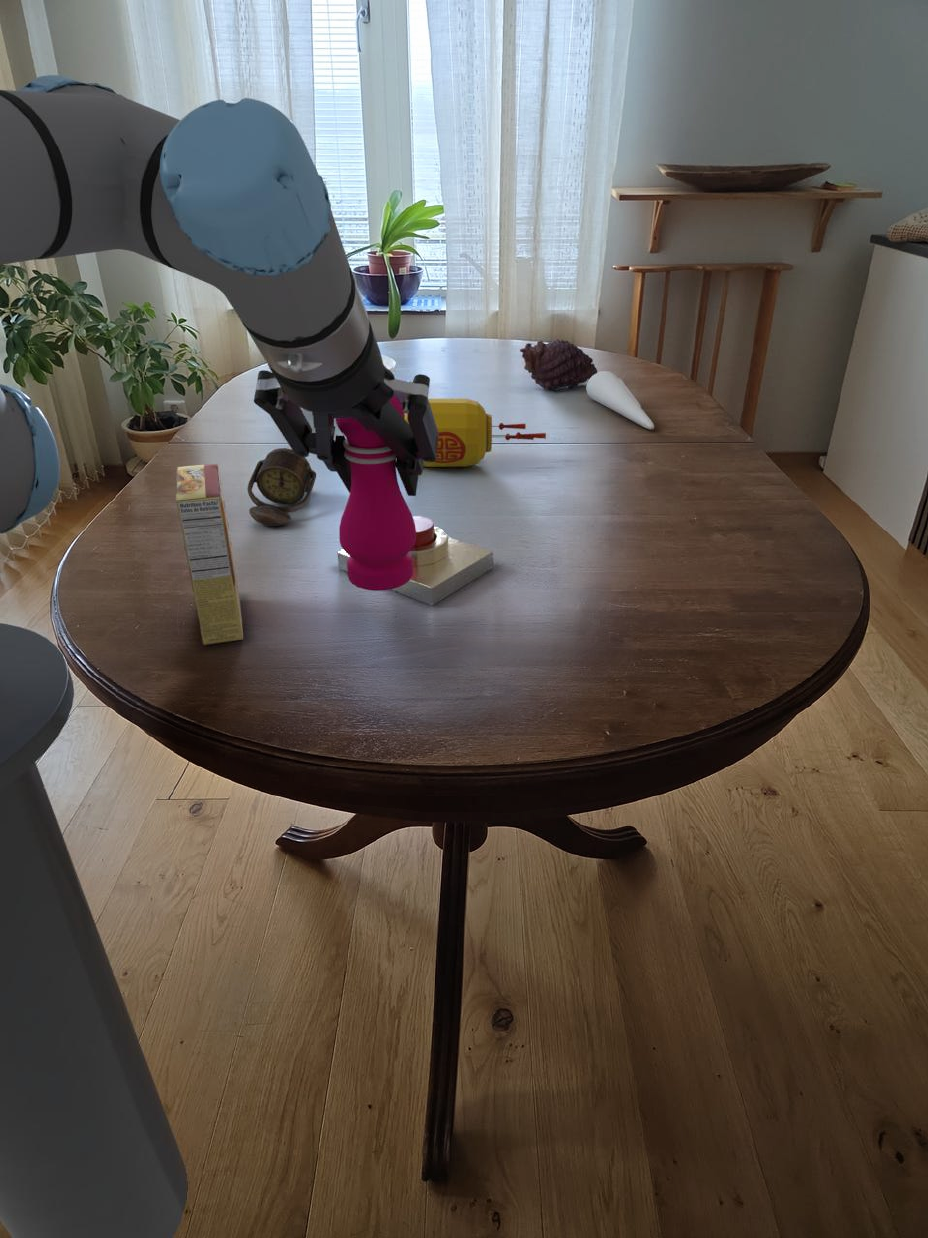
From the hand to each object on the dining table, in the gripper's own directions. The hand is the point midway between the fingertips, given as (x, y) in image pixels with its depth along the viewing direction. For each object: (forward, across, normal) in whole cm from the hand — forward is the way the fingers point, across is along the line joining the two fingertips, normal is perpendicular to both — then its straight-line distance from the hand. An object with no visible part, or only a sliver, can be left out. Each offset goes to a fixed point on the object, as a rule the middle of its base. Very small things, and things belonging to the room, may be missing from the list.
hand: (384, 481), depth 75 cm
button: (+14, +1, -1) cm, 15 cm away
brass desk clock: (+27, -21, +7) cm, 35 cm away
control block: (+17, +1, -3) cm, 17 cm away
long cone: (+62, +26, +42) cm, 79 cm away
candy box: (+7, -17, -13) cm, 23 cm away
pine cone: (+75, +15, +55) cm, 94 cm away
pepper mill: (+3, 0, -9) cm, 9 cm away
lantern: (+42, -1, +21) cm, 47 cm away
